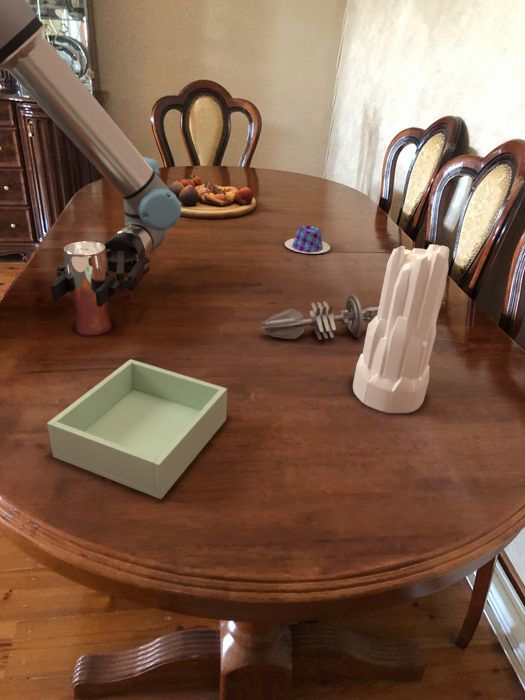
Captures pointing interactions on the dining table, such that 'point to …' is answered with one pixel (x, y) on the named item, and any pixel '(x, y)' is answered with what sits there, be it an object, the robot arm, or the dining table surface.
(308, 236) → the pudding
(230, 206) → the wooden plate
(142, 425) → the tub
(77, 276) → the beer glass
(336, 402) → the dining table surface
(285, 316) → the spaceship
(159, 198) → the robot arm
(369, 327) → the decorative vase
